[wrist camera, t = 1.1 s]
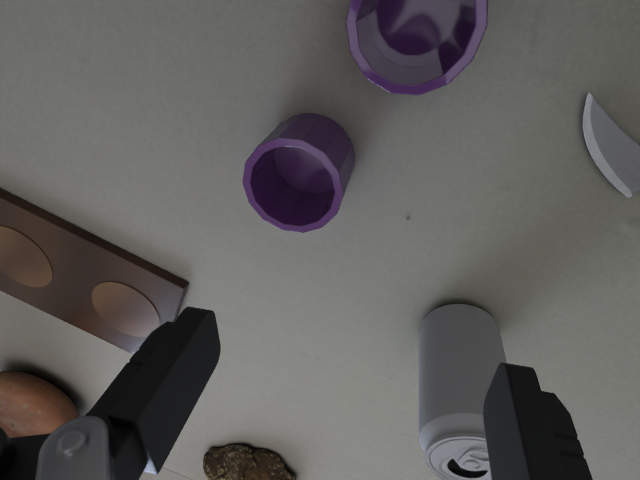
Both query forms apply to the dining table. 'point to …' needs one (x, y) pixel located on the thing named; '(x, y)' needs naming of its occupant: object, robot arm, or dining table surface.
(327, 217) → the ramekin
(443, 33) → the ramekin
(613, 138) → the knife
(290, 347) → the dining table surface
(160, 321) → the serving board
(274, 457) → the bread roll
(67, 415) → the ceramic jug
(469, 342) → the beverage can
